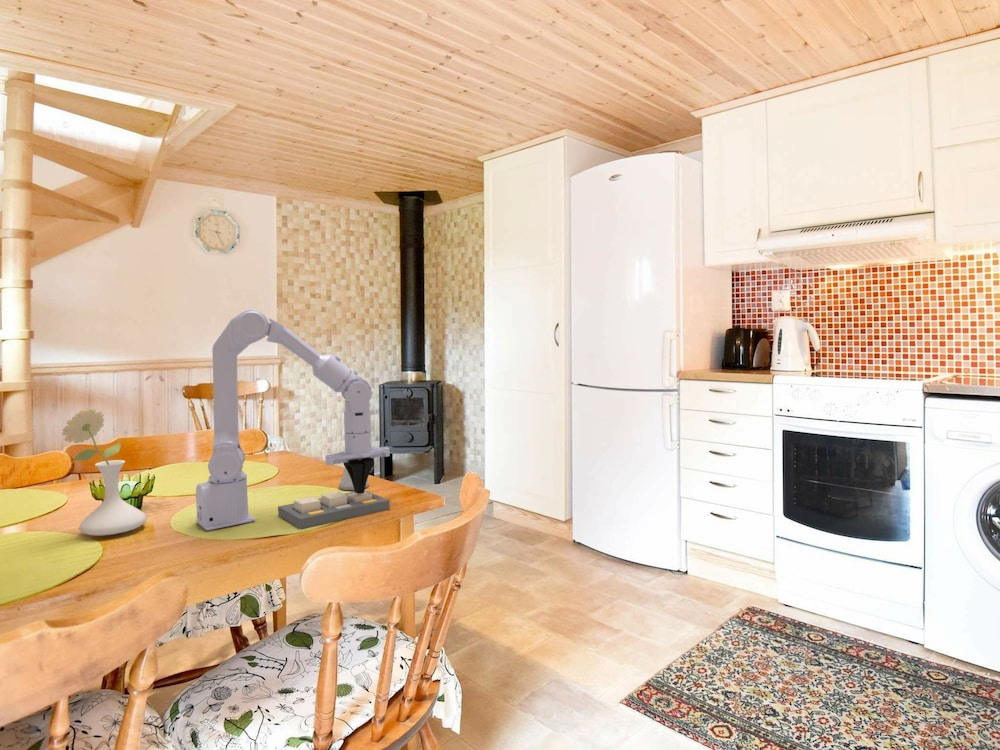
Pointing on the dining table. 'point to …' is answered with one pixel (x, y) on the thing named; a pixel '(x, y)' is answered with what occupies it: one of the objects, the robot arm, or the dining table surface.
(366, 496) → the button far
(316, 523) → the button board
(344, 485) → the flask
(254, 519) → the robot arm
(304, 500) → the button near
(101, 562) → the dining table surface
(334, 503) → the button middle
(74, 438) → the flower in vase
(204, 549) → the dining table surface
